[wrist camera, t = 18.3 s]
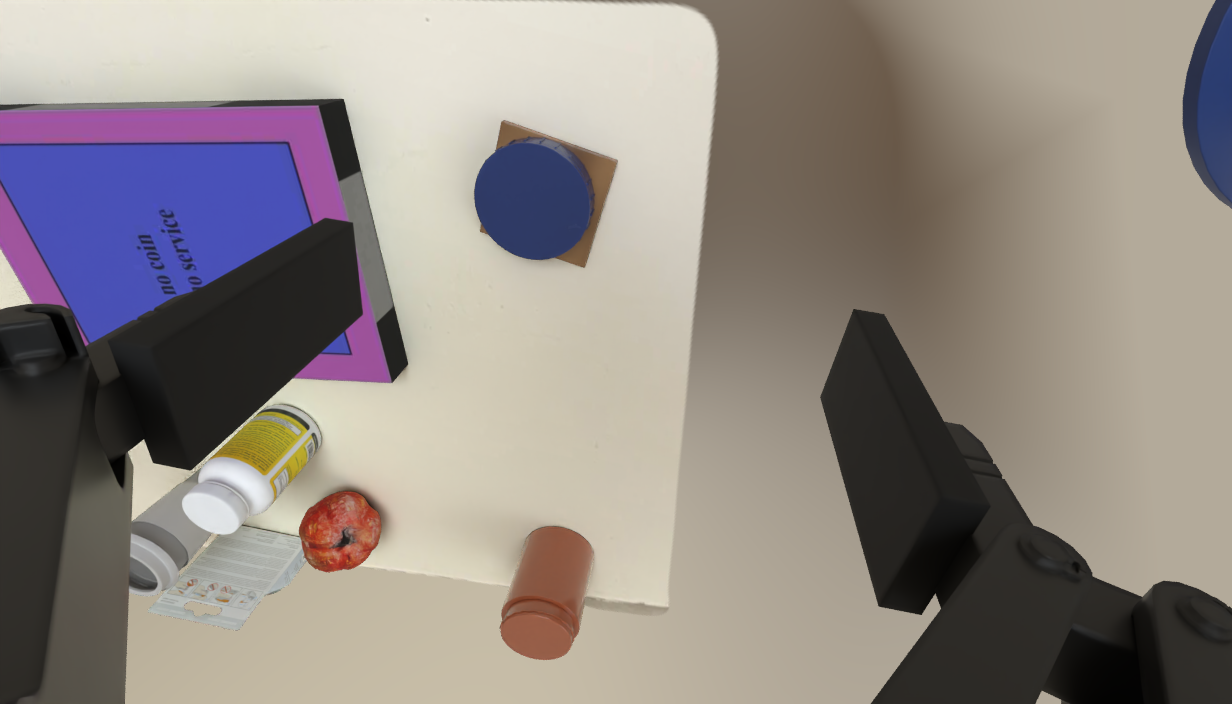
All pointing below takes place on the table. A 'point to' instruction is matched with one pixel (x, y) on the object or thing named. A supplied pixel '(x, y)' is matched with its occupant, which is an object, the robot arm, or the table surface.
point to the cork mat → (597, 169)
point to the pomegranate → (339, 532)
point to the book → (184, 209)
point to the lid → (534, 198)
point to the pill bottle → (252, 469)
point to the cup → (163, 542)
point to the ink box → (234, 576)
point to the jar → (547, 593)
